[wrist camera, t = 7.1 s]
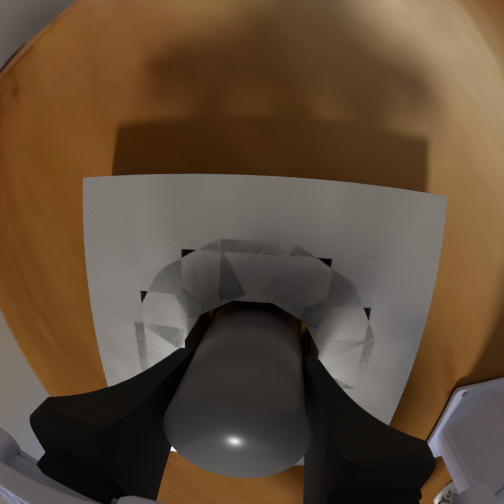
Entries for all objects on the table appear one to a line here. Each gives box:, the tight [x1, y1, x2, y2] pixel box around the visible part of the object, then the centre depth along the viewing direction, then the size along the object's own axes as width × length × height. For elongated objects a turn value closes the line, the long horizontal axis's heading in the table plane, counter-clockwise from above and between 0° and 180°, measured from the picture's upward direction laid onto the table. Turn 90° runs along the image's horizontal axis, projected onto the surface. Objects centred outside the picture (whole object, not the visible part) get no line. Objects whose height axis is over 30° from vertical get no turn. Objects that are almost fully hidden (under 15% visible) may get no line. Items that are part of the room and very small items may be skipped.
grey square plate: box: [83, 174, 447, 465], centre depth 14 cm, size 16×16×2 cm
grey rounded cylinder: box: [163, 300, 310, 478], centre depth 11 cm, size 5×5×7 cm
